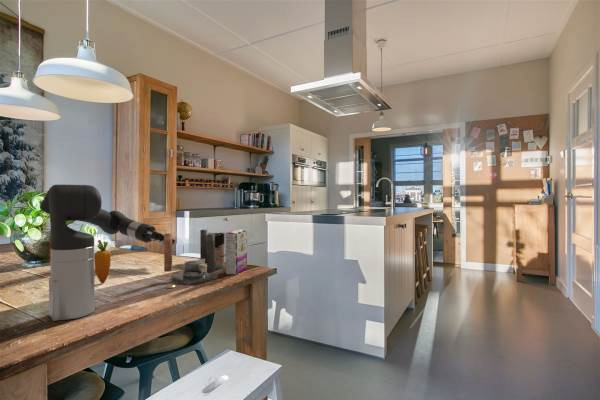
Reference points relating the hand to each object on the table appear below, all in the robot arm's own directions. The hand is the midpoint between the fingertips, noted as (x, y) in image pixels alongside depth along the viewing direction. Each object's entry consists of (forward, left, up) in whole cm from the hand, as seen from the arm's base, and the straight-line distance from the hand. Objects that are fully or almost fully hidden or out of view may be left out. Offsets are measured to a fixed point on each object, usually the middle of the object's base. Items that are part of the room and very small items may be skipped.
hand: (173, 242), depth 133 cm
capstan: (-2, -22, -8) cm, 24 cm away
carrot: (-27, -6, -11) cm, 30 cm away
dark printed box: (+14, -11, -11) cm, 21 cm away
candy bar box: (+16, -23, -11) cm, 30 cm away
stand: (-4, -21, -11) cm, 24 cm away
